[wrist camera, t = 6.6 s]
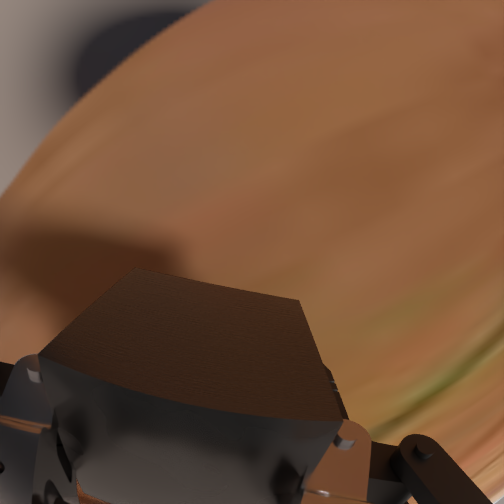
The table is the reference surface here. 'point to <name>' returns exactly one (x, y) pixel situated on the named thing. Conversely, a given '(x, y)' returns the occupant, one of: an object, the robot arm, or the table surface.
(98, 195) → the table surface
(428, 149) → the table surface
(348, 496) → the robot arm
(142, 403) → the shaft
